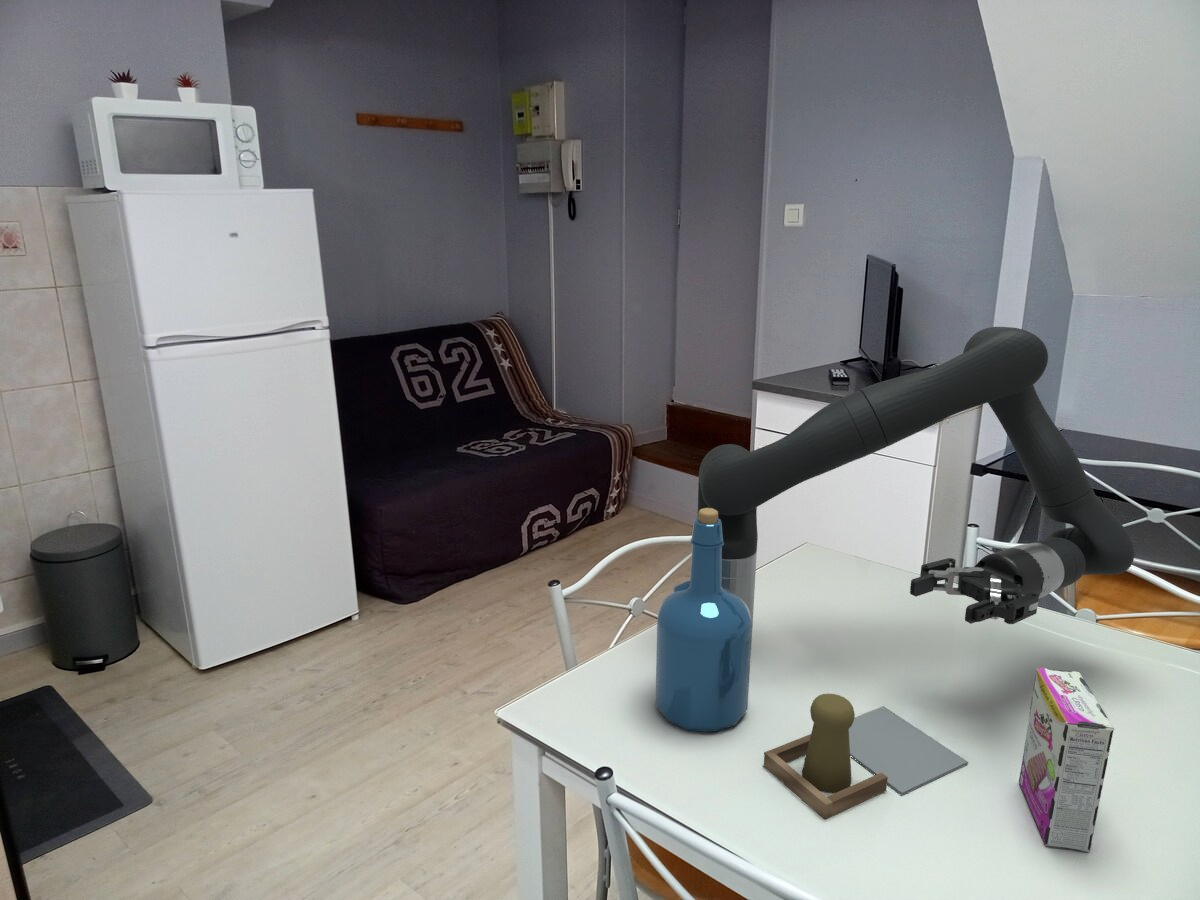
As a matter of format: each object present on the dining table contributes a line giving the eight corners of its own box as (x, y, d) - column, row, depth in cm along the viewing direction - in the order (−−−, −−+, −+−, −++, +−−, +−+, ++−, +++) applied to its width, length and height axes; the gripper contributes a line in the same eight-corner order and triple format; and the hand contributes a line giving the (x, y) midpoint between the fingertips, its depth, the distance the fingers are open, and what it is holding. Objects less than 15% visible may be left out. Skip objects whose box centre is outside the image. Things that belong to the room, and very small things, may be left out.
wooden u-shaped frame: (763, 765, 105) (764, 752, 105) (822, 741, 110) (823, 728, 109) (824, 819, 96) (826, 805, 96) (886, 791, 101) (887, 777, 100)
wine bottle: (761, 731, 112) (774, 525, 104) (666, 741, 110) (672, 532, 102) (729, 676, 125) (739, 490, 117) (644, 684, 123) (647, 495, 115)
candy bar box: (1014, 782, 102) (1034, 665, 98) (1058, 787, 101) (1080, 670, 97) (1042, 848, 92) (1065, 721, 87) (1091, 855, 91) (1118, 726, 86)
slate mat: (819, 733, 112) (820, 731, 112) (883, 708, 117) (883, 705, 117) (901, 795, 100) (901, 792, 100) (967, 764, 106) (968, 761, 105)
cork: (812, 755, 107) (818, 681, 104) (858, 773, 104) (866, 697, 101) (794, 780, 103) (800, 703, 99) (841, 800, 99) (849, 721, 96)
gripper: (978, 532, 118) (898, 555, 110) (1074, 568, 106) (992, 596, 99) (971, 579, 120) (892, 605, 113) (1065, 620, 108) (984, 652, 101)
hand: (939, 601), depth 106 cm, fingers open, 8 cm apart
